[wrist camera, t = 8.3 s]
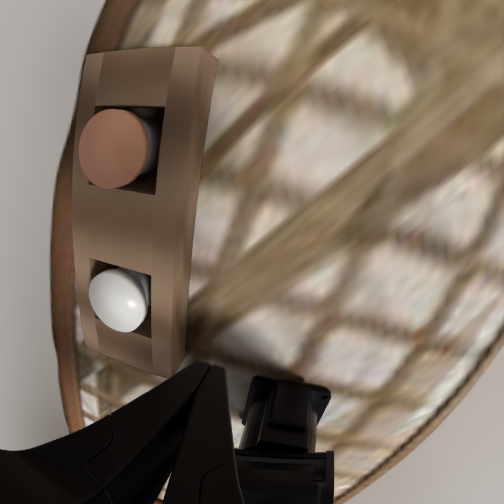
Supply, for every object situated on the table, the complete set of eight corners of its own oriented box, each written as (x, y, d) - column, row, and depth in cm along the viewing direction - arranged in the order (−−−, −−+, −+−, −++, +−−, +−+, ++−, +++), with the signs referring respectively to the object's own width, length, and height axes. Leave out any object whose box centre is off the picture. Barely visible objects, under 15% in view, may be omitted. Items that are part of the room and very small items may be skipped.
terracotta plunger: (167, 184, 19) (137, 193, 15) (111, 175, 19) (76, 184, 16) (175, 113, 17) (146, 109, 14) (117, 111, 17) (82, 109, 14)
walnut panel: (184, 356, 24) (171, 379, 21) (104, 328, 25) (85, 346, 22) (218, 59, 16) (201, 46, 13) (112, 61, 17) (86, 54, 14)
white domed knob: (164, 314, 23) (142, 340, 20) (116, 298, 23) (91, 320, 20) (166, 261, 21) (141, 283, 18) (114, 248, 22) (86, 266, 18)
